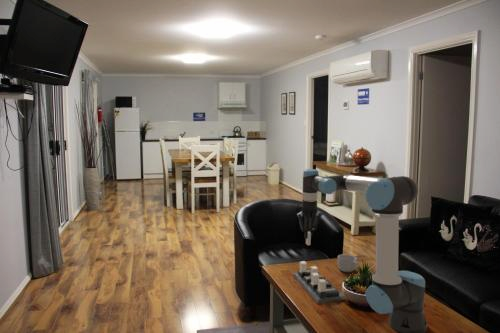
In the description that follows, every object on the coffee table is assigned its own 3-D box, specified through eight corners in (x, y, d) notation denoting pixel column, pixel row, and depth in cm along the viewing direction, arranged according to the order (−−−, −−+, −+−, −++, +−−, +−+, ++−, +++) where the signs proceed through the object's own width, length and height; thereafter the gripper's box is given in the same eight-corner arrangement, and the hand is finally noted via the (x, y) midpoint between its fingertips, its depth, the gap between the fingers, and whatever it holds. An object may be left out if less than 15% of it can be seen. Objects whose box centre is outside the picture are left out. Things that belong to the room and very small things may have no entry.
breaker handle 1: (306, 272, 216) (306, 263, 215) (301, 272, 215) (301, 263, 214) (304, 269, 219) (304, 261, 218) (299, 270, 218) (299, 261, 218)
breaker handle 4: (325, 291, 193) (326, 281, 192) (320, 292, 192) (320, 282, 191) (323, 288, 196) (323, 278, 195) (317, 289, 195) (318, 279, 195)
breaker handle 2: (317, 277, 209) (318, 268, 208) (312, 278, 208) (313, 268, 208) (315, 275, 212) (315, 266, 211) (310, 275, 211) (310, 266, 211)
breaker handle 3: (318, 284, 201) (319, 275, 200) (313, 285, 200) (314, 275, 199) (316, 281, 204) (316, 272, 203) (311, 282, 203) (311, 273, 202)
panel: (344, 299, 193) (344, 291, 193) (317, 303, 190) (317, 295, 189) (316, 273, 224) (316, 266, 223) (293, 276, 220) (293, 269, 220)
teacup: (333, 267, 233) (334, 254, 232) (350, 265, 236) (350, 252, 235) (346, 277, 220) (346, 263, 218) (363, 274, 223) (364, 261, 222)
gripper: (318, 197, 207) (317, 240, 211) (295, 198, 204) (293, 242, 208) (324, 201, 200) (322, 245, 203) (300, 202, 196) (298, 247, 200)
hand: (308, 244), depth 205 cm, fingers closed
